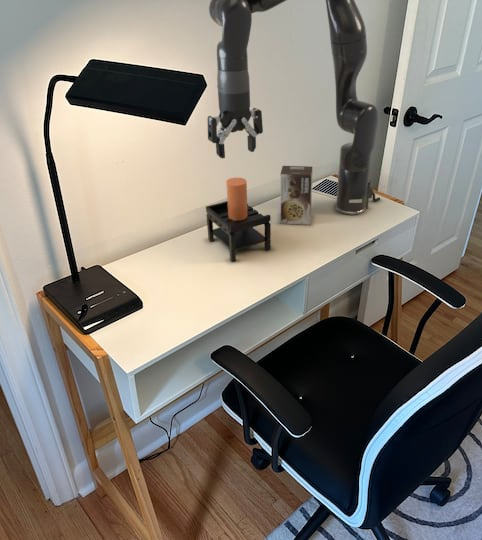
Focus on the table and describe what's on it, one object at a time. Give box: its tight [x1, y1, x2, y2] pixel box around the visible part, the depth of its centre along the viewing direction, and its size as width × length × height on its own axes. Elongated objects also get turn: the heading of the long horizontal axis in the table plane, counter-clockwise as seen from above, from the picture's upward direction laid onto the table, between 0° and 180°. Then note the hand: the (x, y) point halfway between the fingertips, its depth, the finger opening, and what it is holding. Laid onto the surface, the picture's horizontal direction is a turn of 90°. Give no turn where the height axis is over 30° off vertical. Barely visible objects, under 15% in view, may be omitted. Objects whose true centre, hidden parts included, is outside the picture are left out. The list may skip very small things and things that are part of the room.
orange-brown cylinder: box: [225, 177, 248, 220], centre depth 135 cm, size 5×5×10 cm
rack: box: [205, 200, 272, 263], centre depth 140 cm, size 12×14×10 cm
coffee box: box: [279, 165, 313, 226], centre depth 151 cm, size 9×6×16 cm
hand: (236, 154), depth 130 cm, fingers open, 8 cm apart
